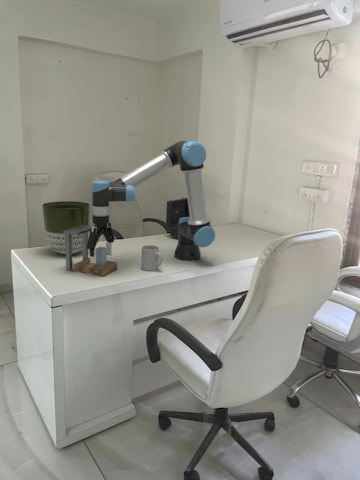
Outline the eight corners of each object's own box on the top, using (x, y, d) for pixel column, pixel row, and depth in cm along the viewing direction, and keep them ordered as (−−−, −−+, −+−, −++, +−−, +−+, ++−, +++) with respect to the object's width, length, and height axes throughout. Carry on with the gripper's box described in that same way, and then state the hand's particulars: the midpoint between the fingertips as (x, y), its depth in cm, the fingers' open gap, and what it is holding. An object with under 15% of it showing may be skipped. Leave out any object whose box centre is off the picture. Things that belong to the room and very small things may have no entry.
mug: (137, 268, 184) (138, 247, 181) (149, 264, 190) (150, 244, 188) (154, 274, 177) (155, 252, 174) (166, 270, 183) (167, 249, 180)
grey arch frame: (98, 265, 186) (97, 226, 181) (79, 274, 171) (77, 232, 166) (84, 262, 189) (84, 224, 183) (64, 272, 174) (63, 230, 169)
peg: (106, 271, 177) (106, 247, 174) (102, 273, 174) (102, 249, 171) (100, 270, 178) (100, 246, 175) (96, 272, 175) (95, 248, 172)
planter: (99, 253, 204) (99, 205, 198) (59, 262, 187) (57, 210, 180) (75, 244, 220) (74, 200, 214) (36, 251, 203) (33, 203, 196)
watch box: (200, 242, 240) (202, 205, 234) (165, 235, 254) (166, 200, 248) (217, 234, 262) (220, 200, 256) (184, 228, 276) (185, 196, 270)
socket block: (116, 270, 180) (116, 262, 179) (103, 277, 169) (103, 269, 168) (89, 265, 185) (89, 257, 184) (74, 272, 174) (74, 264, 173)
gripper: (108, 210, 182) (108, 251, 187) (77, 218, 159) (78, 264, 165) (121, 211, 179) (121, 253, 185) (92, 220, 157) (93, 267, 162)
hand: (101, 258), depth 175 cm, fingers open, 13 cm apart
